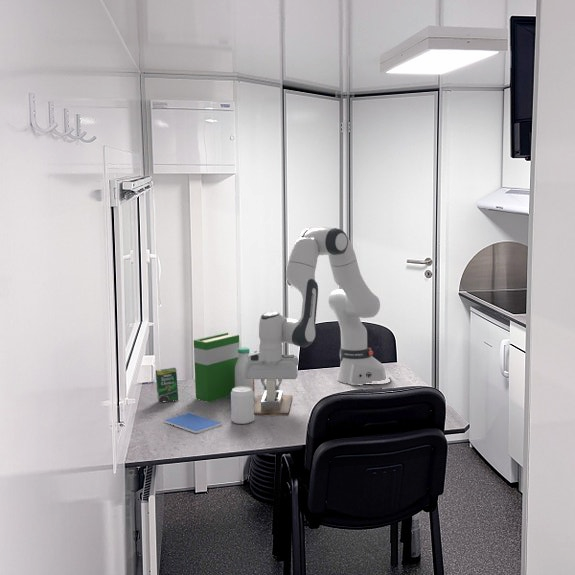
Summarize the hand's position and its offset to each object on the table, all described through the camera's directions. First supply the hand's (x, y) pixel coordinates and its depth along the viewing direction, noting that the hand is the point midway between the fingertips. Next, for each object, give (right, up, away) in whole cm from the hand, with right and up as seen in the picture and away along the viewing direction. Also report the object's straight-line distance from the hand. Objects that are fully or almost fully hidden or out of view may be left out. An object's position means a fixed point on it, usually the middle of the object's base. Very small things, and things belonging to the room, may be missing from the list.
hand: (271, 389), depth 287 cm
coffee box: (-41, -6, +9) cm, 43 cm away
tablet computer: (-28, -10, -17) cm, 35 cm away
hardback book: (-22, -5, +16) cm, 27 cm away
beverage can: (-10, -9, -16) cm, 21 cm away
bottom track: (0, -6, +1) cm, 6 cm away
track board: (0, -6, +1) cm, 6 cm away
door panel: (0, -3, 0) cm, 3 cm away
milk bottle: (-11, -5, +13) cm, 18 cm away
